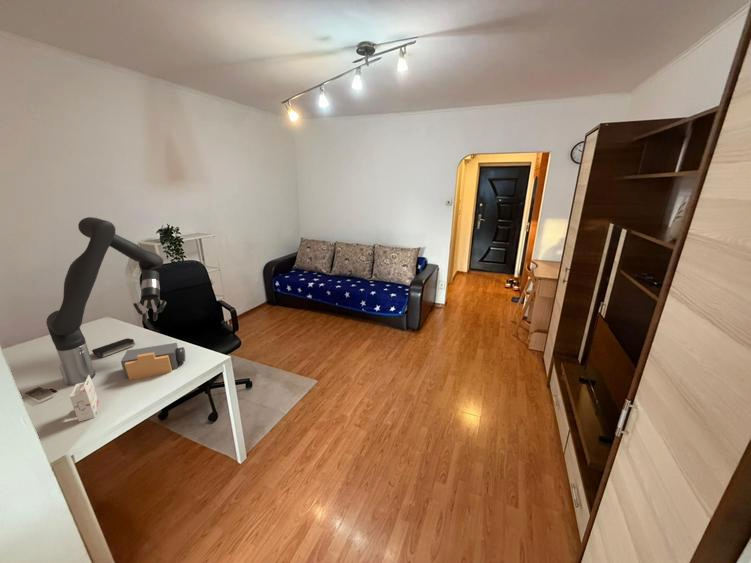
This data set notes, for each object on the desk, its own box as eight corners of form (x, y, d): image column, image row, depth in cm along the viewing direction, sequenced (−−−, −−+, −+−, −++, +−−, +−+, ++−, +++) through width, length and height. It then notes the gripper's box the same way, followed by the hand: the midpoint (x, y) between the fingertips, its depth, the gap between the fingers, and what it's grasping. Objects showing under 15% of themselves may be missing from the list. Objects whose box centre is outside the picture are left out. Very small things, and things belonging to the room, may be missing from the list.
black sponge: (99, 360, 149) (97, 353, 148) (92, 355, 153) (90, 349, 152) (137, 346, 162) (135, 340, 161) (129, 342, 166) (128, 336, 165)
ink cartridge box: (83, 408, 117) (73, 377, 113) (99, 404, 120) (90, 373, 115) (77, 422, 111) (66, 390, 106) (95, 417, 113) (85, 385, 109)
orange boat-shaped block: (129, 380, 133) (122, 359, 128) (130, 377, 135) (123, 357, 130) (171, 371, 140) (166, 352, 135) (172, 369, 141) (167, 350, 136)
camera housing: (125, 380, 135) (120, 361, 131) (131, 368, 143) (127, 350, 140) (184, 369, 144) (181, 351, 141) (186, 358, 153) (183, 341, 150)
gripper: (130, 287, 145) (129, 320, 138) (165, 285, 151) (165, 316, 144) (136, 294, 151) (134, 325, 144) (168, 291, 157) (168, 321, 150)
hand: (150, 320), depth 144 cm, fingers open, 3 cm apart
